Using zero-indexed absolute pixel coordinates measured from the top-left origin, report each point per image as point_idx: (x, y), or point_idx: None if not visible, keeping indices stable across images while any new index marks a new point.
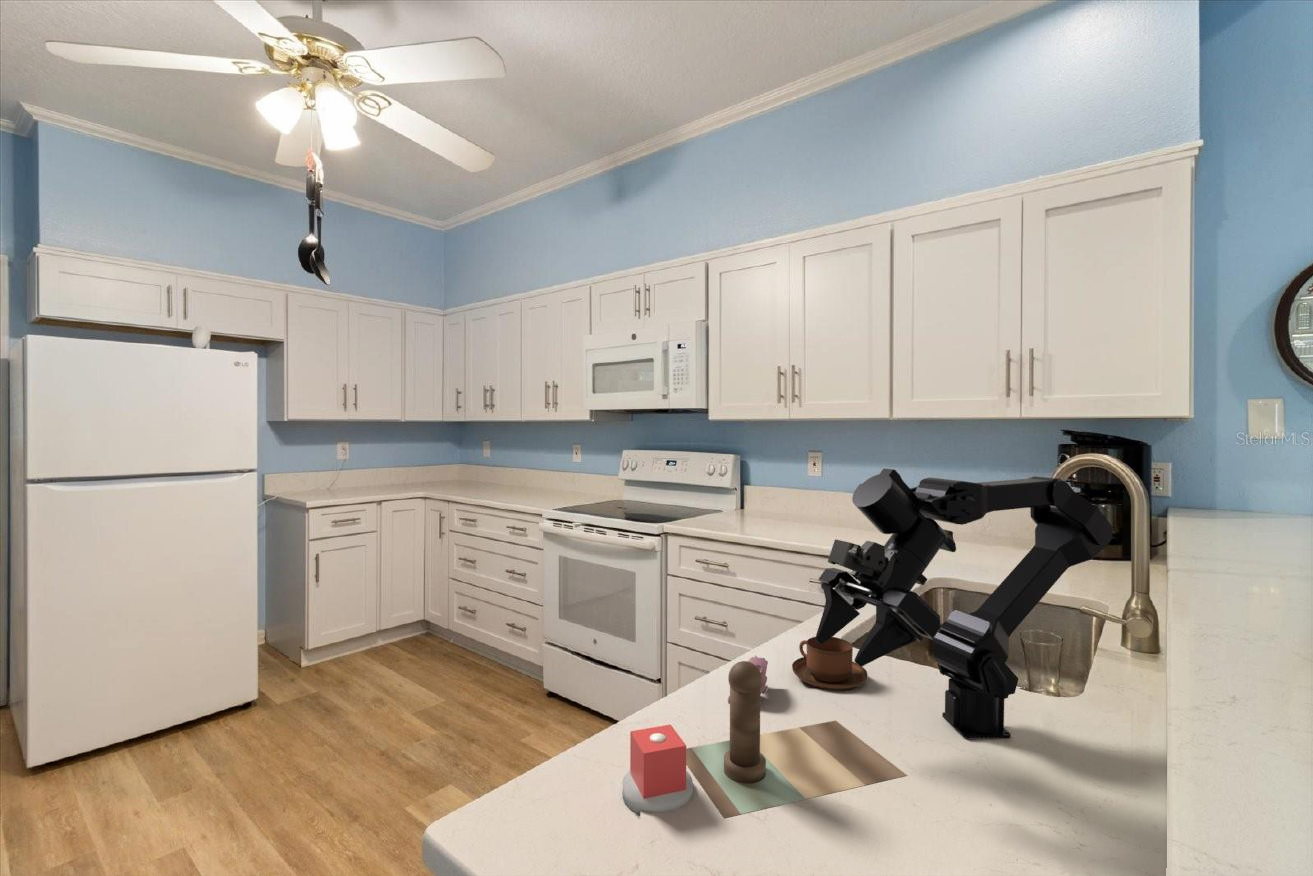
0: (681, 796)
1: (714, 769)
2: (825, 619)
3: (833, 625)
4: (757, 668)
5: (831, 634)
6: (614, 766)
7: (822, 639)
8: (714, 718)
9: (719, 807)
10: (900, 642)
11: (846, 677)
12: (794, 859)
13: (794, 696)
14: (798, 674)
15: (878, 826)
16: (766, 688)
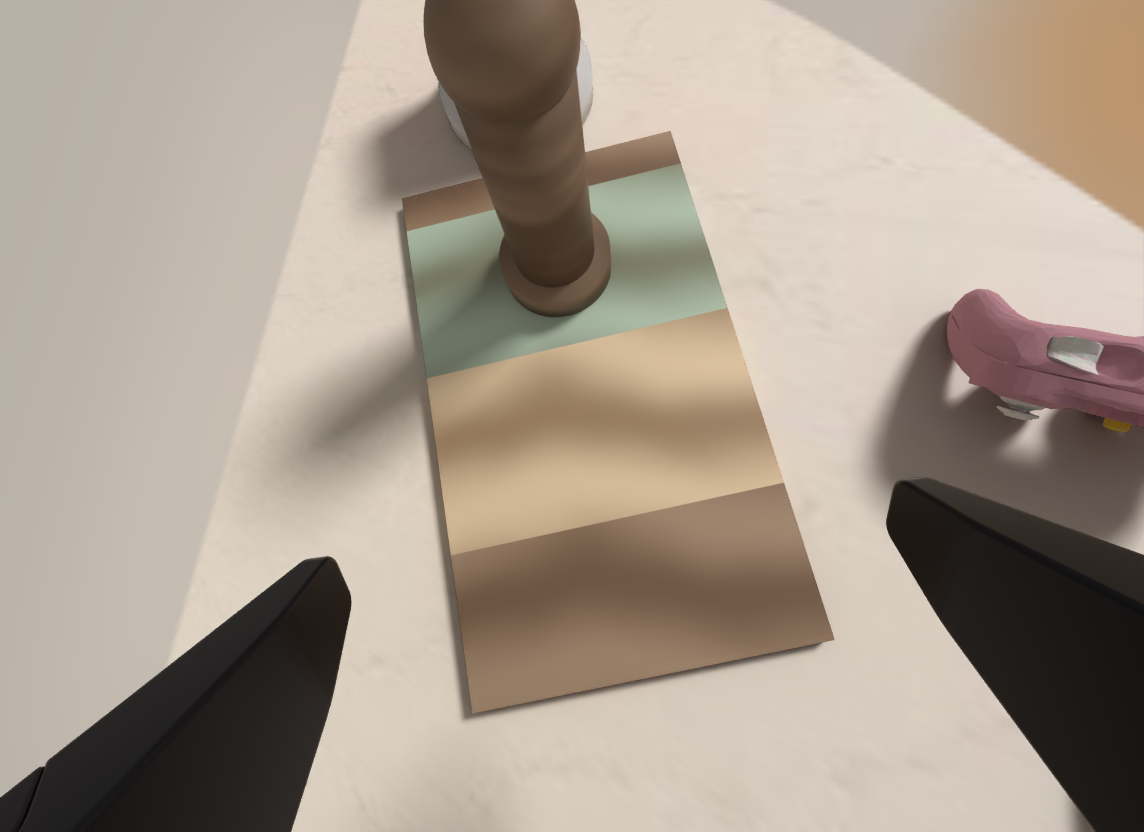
0: (454, 114)
1: None
2: (1113, 594)
3: (1078, 702)
4: (467, 28)
5: (975, 644)
6: (634, 23)
7: (910, 536)
8: (872, 251)
9: (435, 194)
10: None
11: None
12: (286, 309)
13: None
14: None
15: (326, 519)
16: (1011, 409)
